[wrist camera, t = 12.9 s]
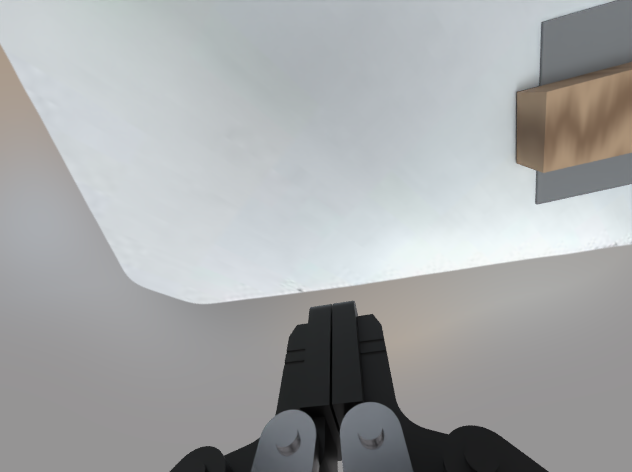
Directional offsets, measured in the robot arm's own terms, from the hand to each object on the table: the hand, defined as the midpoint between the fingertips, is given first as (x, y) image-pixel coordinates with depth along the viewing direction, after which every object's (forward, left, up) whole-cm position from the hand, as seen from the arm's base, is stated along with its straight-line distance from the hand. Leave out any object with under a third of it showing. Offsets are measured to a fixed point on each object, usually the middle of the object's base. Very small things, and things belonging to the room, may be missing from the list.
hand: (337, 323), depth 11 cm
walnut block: (+2, +22, -27) cm, 35 cm away
